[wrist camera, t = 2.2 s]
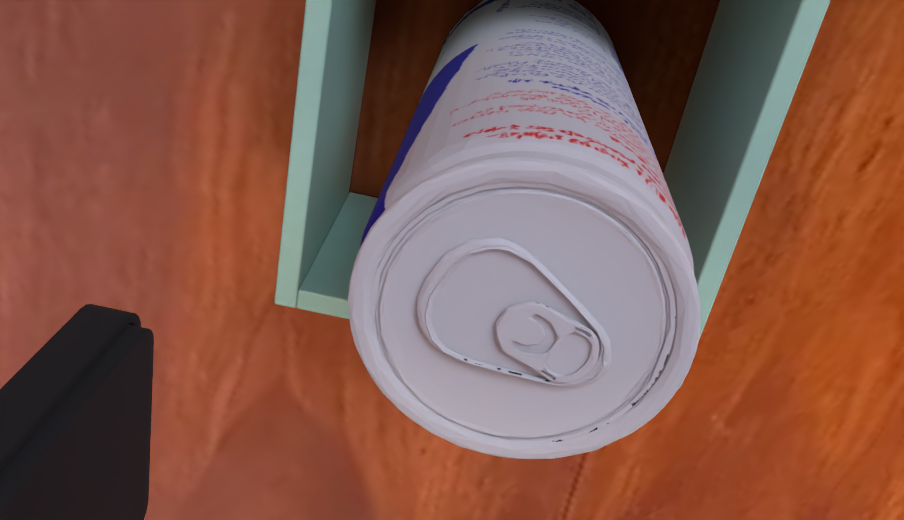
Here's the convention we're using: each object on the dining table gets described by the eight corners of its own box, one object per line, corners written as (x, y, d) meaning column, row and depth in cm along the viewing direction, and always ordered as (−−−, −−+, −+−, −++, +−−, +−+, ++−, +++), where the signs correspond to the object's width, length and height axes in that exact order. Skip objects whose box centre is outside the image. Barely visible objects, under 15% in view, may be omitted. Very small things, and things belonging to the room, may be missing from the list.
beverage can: (428, -6, 25) (312, 169, 12) (617, -23, 25) (715, 143, 11) (446, 168, 28) (367, 474, 14) (618, 157, 27) (701, 467, 14)
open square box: (330, 203, 29) (273, 304, 23) (377, -155, 24) (321, -152, 17) (649, 270, 29) (681, 389, 23) (765, -73, 24) (847, -40, 18)
